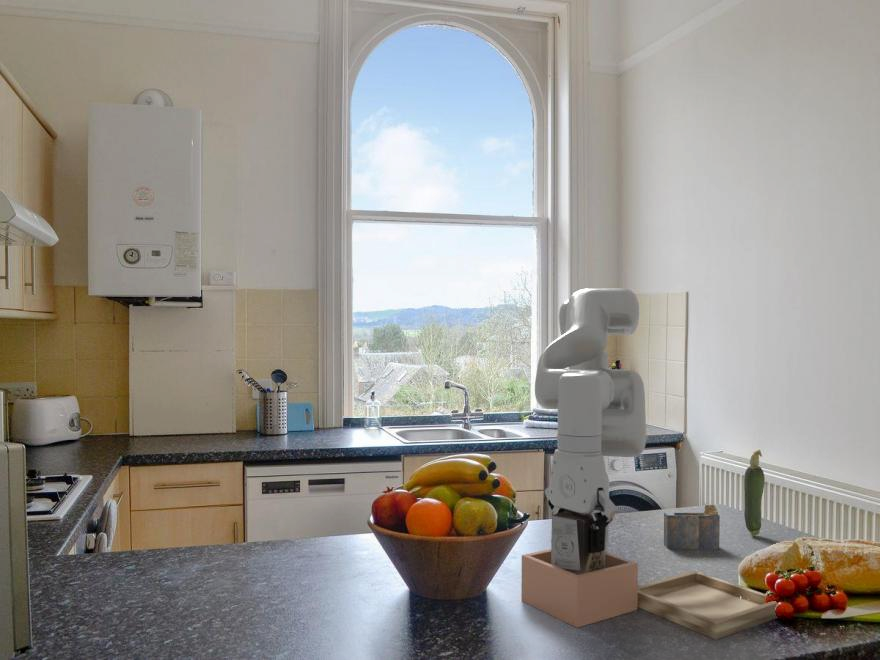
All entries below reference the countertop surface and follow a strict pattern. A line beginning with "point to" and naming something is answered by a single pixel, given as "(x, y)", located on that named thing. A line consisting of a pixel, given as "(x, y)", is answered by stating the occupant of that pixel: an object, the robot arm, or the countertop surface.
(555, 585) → the square storage bin
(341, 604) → the countertop surface
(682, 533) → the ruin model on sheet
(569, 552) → the coffee box
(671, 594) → the tray
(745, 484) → the vegetable
